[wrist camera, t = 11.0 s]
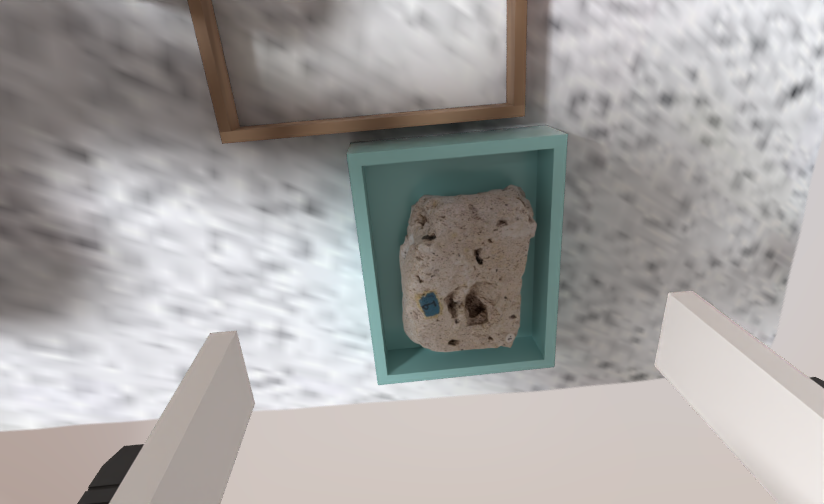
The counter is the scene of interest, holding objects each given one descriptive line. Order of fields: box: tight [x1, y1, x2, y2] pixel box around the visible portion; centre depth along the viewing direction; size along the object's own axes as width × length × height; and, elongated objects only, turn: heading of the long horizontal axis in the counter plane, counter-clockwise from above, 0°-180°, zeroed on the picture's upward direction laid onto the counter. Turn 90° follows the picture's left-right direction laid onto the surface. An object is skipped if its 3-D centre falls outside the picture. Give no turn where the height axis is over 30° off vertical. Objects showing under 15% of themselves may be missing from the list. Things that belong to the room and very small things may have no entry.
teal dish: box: [347, 125, 568, 385], centre depth 33 cm, size 14×18×4 cm
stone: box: [399, 184, 537, 352], centre depth 32 cm, size 13×6×10 cm
